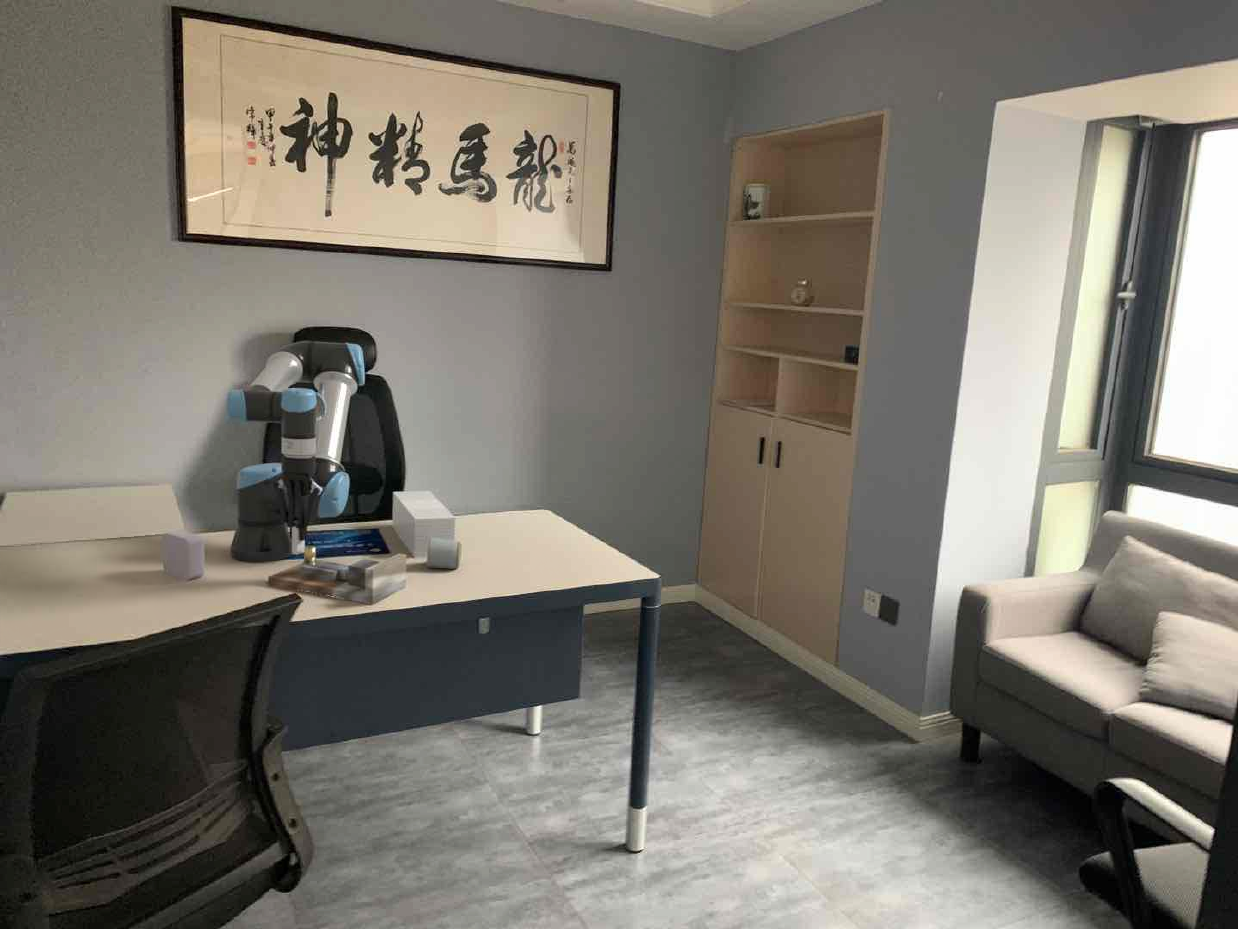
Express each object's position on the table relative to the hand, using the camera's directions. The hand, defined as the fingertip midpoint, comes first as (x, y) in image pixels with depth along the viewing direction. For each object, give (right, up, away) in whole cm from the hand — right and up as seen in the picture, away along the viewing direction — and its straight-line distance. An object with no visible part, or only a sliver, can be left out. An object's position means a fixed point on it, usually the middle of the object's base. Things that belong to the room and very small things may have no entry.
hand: (298, 552), depth 217 cm
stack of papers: (+20, -1, +41) cm, 46 cm away
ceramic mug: (+31, -6, +19) cm, 37 cm away
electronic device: (-27, -5, -1) cm, 27 cm away
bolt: (+7, -5, -1) cm, 9 cm away
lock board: (+10, -8, -1) cm, 13 cm away
